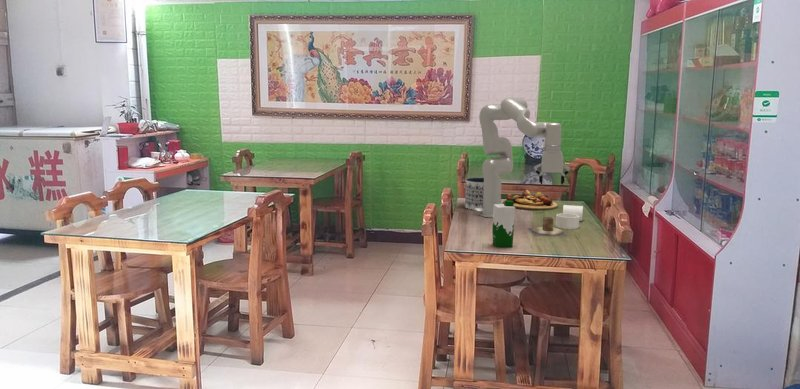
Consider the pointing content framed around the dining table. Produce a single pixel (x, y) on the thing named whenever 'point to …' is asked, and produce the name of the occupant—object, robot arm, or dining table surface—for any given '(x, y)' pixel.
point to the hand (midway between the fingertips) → (551, 184)
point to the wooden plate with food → (532, 201)
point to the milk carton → (503, 224)
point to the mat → (545, 235)
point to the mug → (573, 210)
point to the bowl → (567, 221)
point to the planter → (474, 193)
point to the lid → (547, 228)
